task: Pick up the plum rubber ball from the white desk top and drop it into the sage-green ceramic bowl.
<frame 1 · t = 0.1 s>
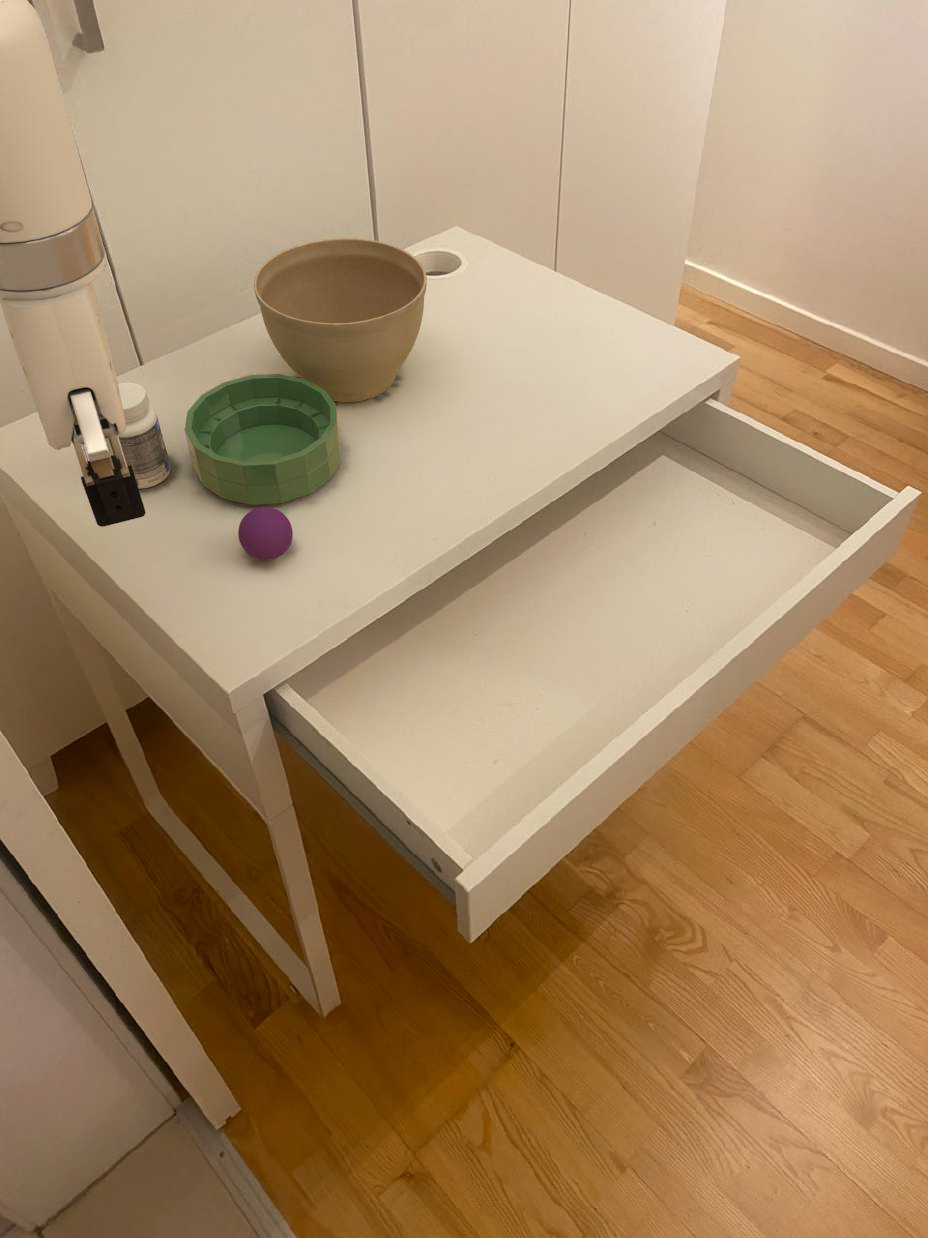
hand: (109, 475, 68), 13 cm above the table, tool pointing down, fingers open, 9 cm apart
planter bowl: (348, 378, 98), on the table
bowl: (269, 461, 88), on the table
ball: (265, 533, 79), point 2 cm above the table
pill bottle: (145, 474, 87), on the table
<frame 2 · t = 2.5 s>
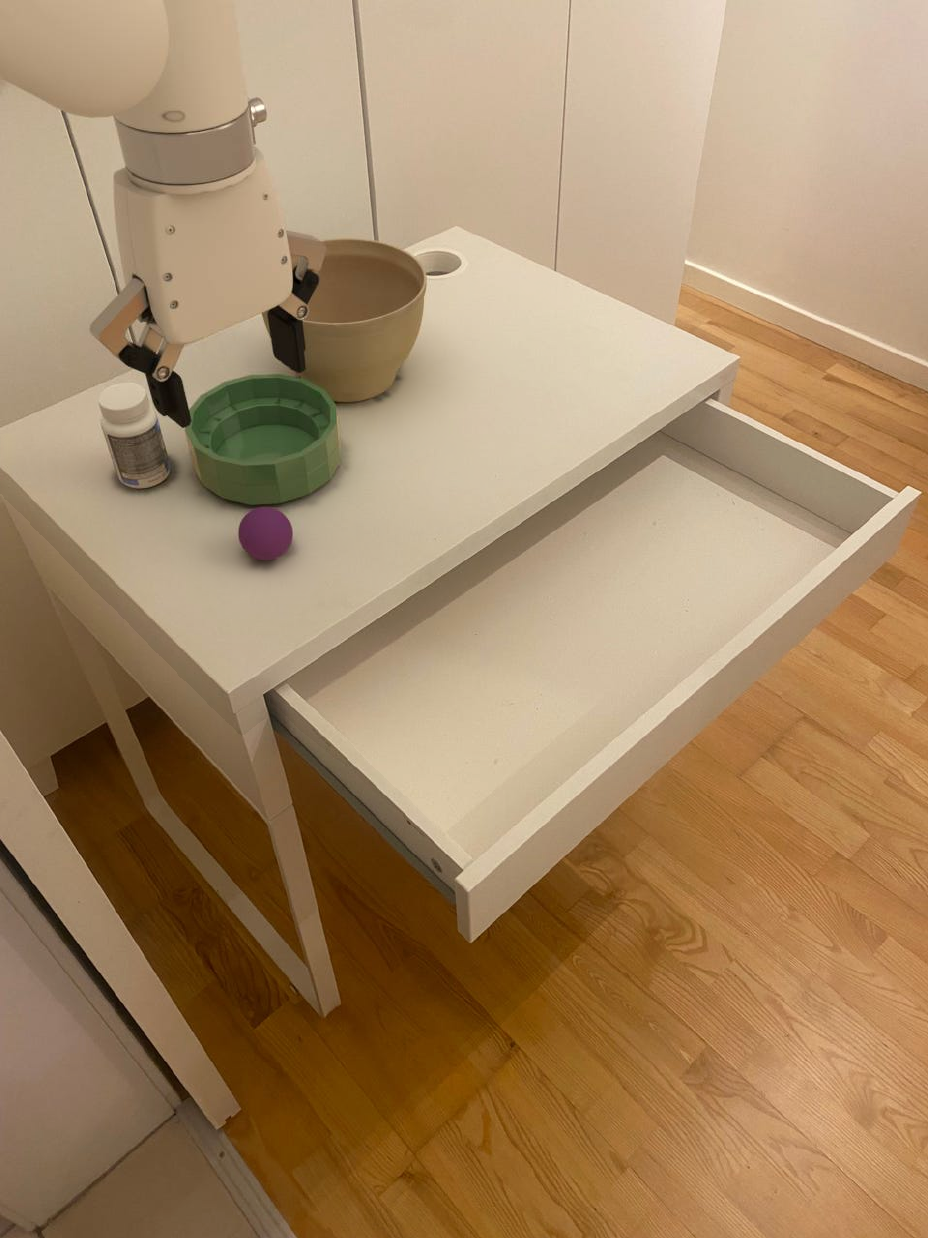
hand: (234, 390, 68), 16 cm above the table, tool pointing down, fingers open, 9 cm apart
nothing on the table moved.
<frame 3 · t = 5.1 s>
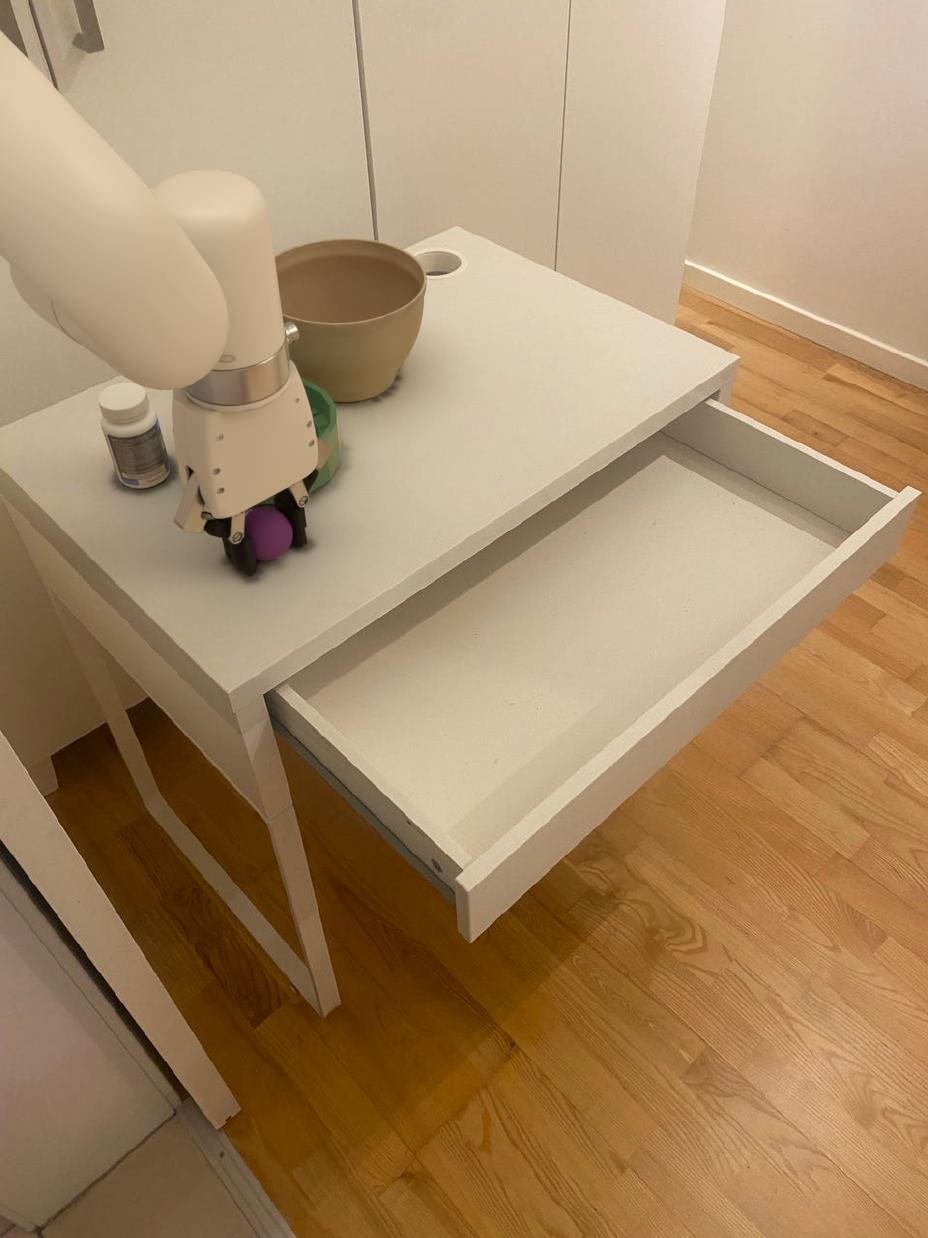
hand: (268, 549, 80), 0 cm above the table, tool pointing down, fingers closed on ball, 4 cm apart
ball: (265, 533, 79), point 2 cm above the table, touching gripper
everything else where it was.
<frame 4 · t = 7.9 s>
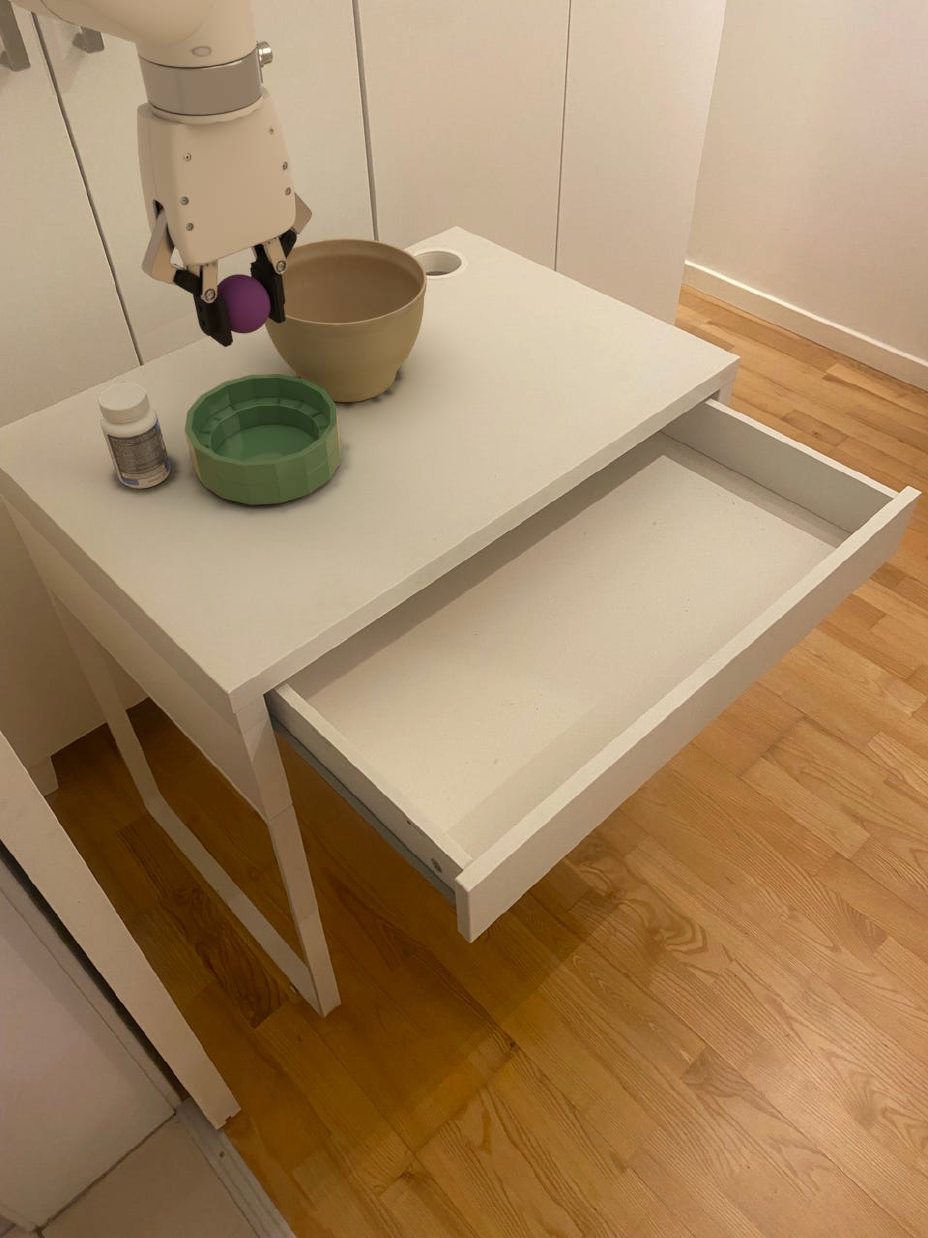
hand: (245, 324, 76), 15 cm above the table, tool pointing down, fingers closed on ball, 4 cm apart
ball: (241, 304, 75), point 17 cm above the table, touching gripper
everything else where it was.
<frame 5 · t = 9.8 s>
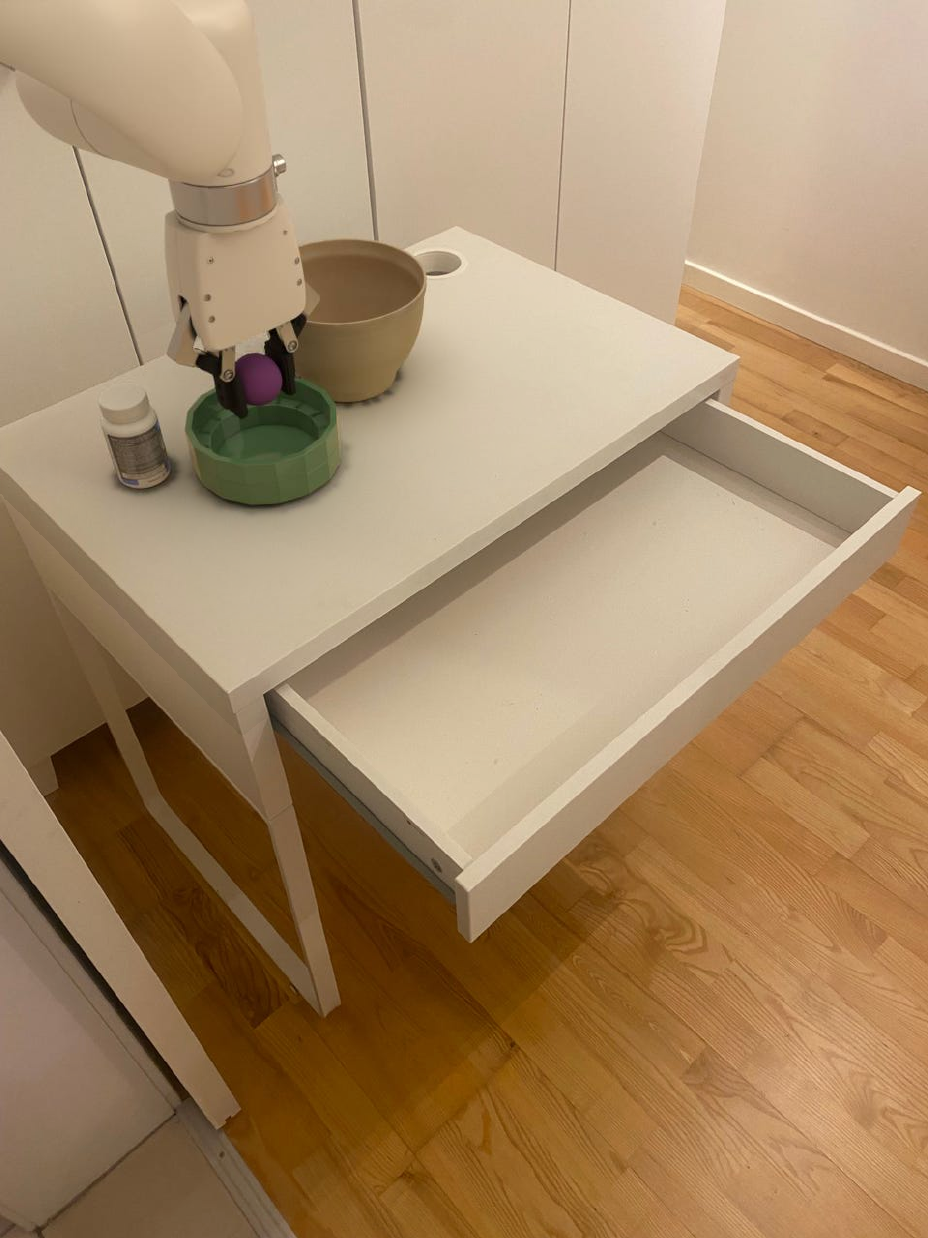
hand: (259, 397, 83), 7 cm above the table, tool pointing down, fingers closed on ball, 4 cm apart
ball: (256, 379, 82), point 9 cm above the table, touching gripper
everything else where it was.
when the fingers open (3 cm above the table, at t = 11.2 s): ball drops 2 cm, resting on bowl.
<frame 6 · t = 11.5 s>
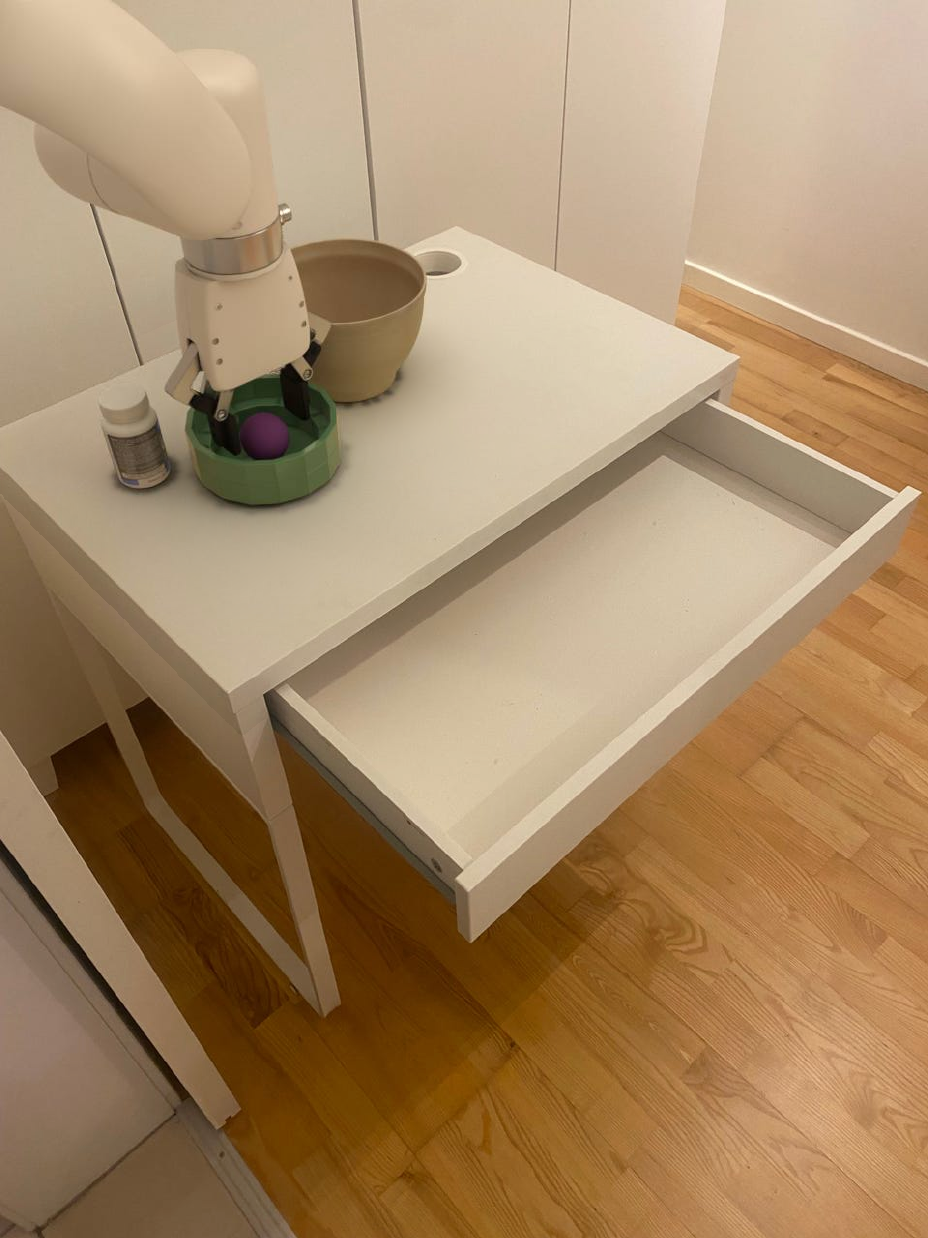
hand: (263, 428, 86), 4 cm above the table, tool pointing down, fingers open, 6 cm apart
ball: (264, 437, 86), point 3 cm above the table, touching bowl
everything else where it was.
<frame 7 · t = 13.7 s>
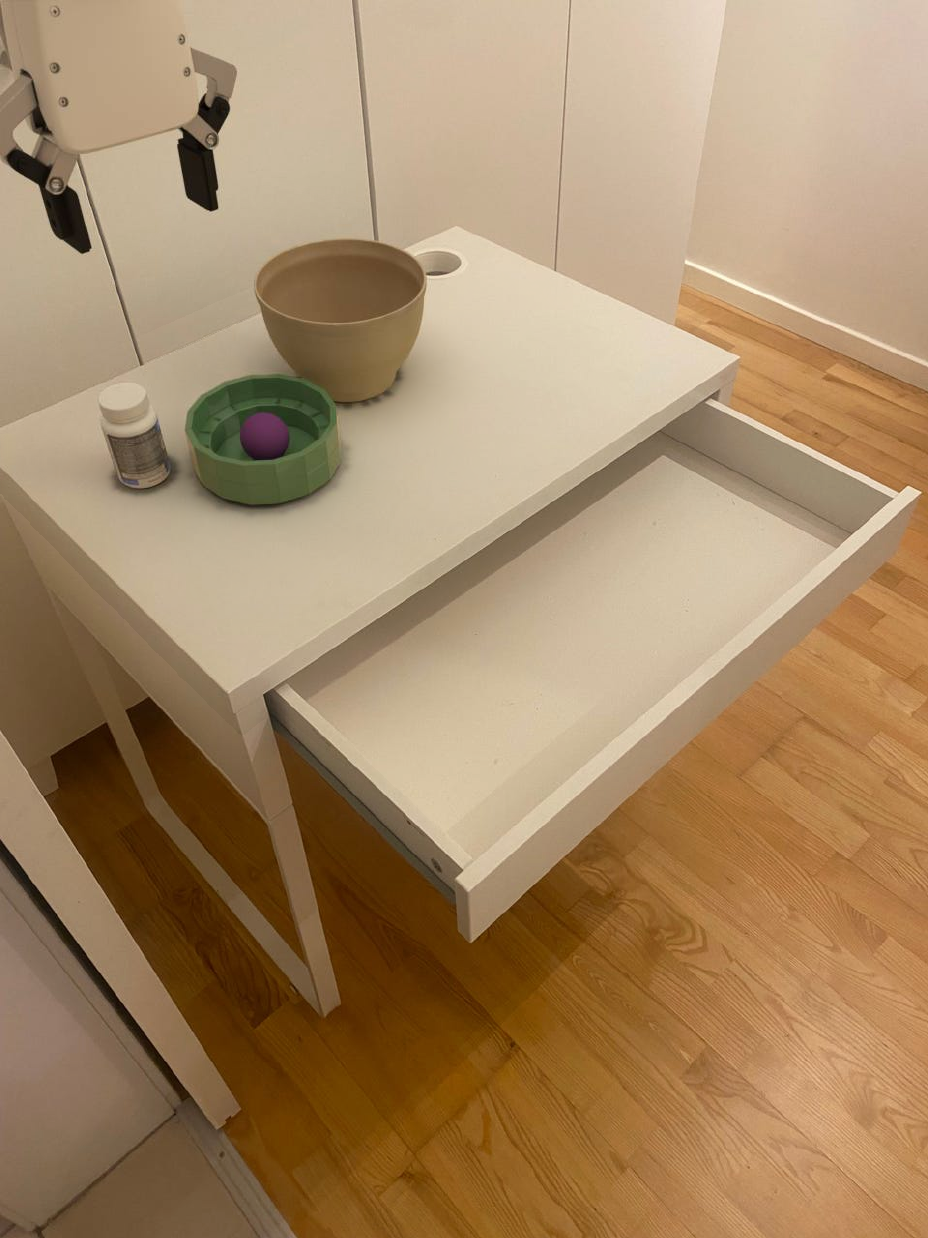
hand: (141, 224, 65), 25 cm above the table, tool pointing down, fingers open, 9 cm apart
nothing on the table moved.
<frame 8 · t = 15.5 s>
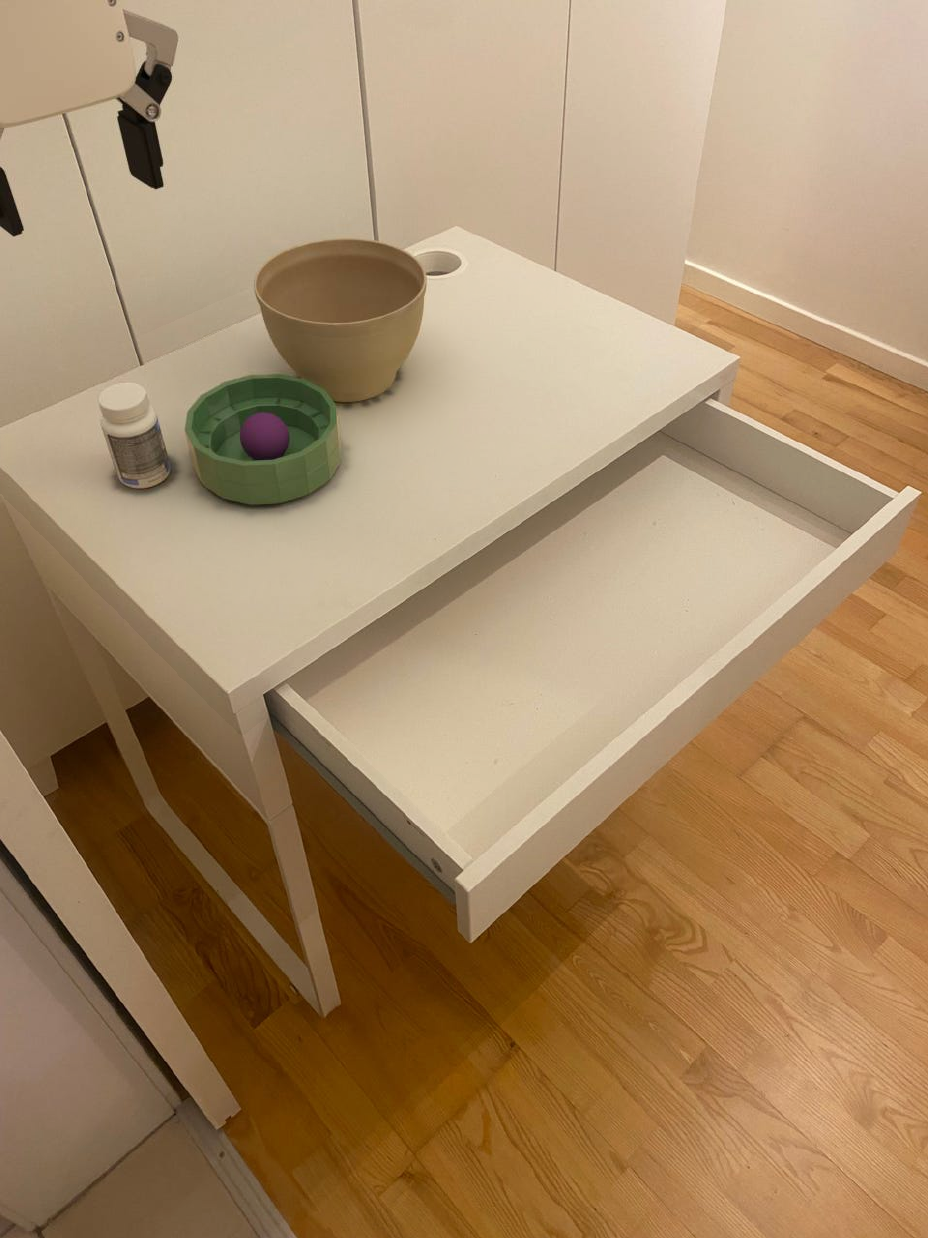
hand: (80, 203, 61), 28 cm above the table, tool pointing down, fingers open, 9 cm apart
nothing on the table moved.
at the end: ball inside the target area in the bowl (0.0 cm from its centre), point 2.8 cm above the bowl's base; the gripper is holding nothing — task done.
